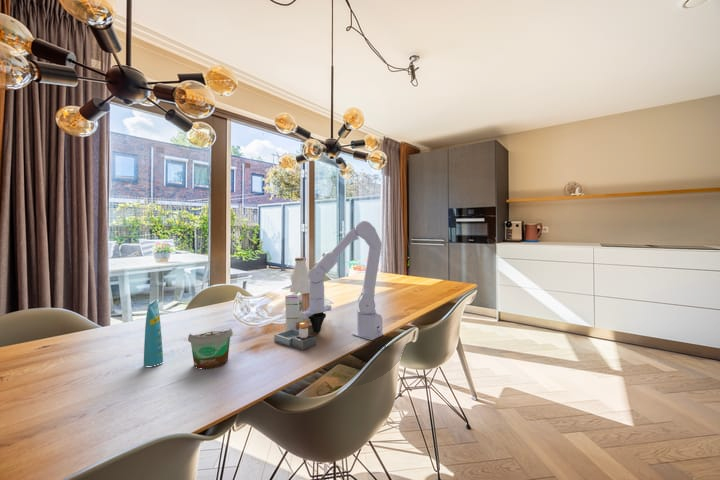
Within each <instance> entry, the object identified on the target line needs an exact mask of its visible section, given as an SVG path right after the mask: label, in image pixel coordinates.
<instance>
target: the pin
mask: <svg viewBox="0 0 720 480" xmlns="http://www.w3.org/2000/svg"><path fill="white" fill-rule="evenodd" d="M307 338H308V322H300V323H299V339H301V340H305V339H307Z"/></svg>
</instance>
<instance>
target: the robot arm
mask: <svg viewBox="0 0 720 480" xmlns="http://www.w3.org/2000/svg"><path fill="white" fill-rule="evenodd" d="M359 237H360V238H361V239H362V240H364V242H365V243H366V244H367V246H368V248H369V249H368V254H367V258H366V259H367V260H366V266H365V271H364V278H363V285H362V289H361V294H360V295H358V299H357V302H358V309H357V311H356V313H357V314H356V315H357V316H356V317H357V319H356V321H357V324H356V328H357V330H356V331H355V332H353V333H352V336H356V337H359V338H363V339H367V340H370V341H373V340H376V339H377V338H380V337H382V336H383V335H384V332H383V317H382V315H381V314H378V313H377V311H376V303H375V290H376V289H375V288H376V283H377V276H378V275H377V274H378V270H379V263H380V259H381V258H380V256H381V253H382V243H383V242H382V241H381V239H380V237H379V234H378V232H377V230H376V228H375V226H373V225H372V224H371V223H370V222H369V221H366V220H361V221H360V222H359V223H358V224H356V226H354V227H353V228H351V230H349V231H348V232H347V233H346V234H345V235H344V237H343V238H341V240H340V241H339V243H338V244H336V246H335V247H334V249H332V250H329V251H328V250H327V251H326V252H323V253H322V254H321V256H322V257H320V259H319V260H318V261H317V262H314V264H313V266H314V267H312V268H310V270H308V271H309V274H308V277H309V279H310V286H309V308H308V310H306V311H304V312H301V318H306V317H308V318H309V319H308V320H310V321H311V324H312V326H313V330H314V333H315V334H320V333H321V329H322V326H323V323H324V321H325V319H326V316H327V314H326V313H325V312H329V311H332V305H330V304H327V305H325V284H324V282H325V280H324V278H325V277H326V274H329V272H330V271H331V270H332V269H333V268H334V267H335V265H336V264H337V263H338V262H339V256H340V255H341V254H342V253H343V251H345V250H346V248H347V247H348V246H349V245H350V244H351V243H352V242H354V241H357V240H359Z"/></svg>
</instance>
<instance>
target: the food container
mask: <svg viewBox="0 0 720 480" xmlns="http://www.w3.org/2000/svg"><path fill="white" fill-rule="evenodd" d="M233 334H234V332H233V329H232V327H230V328H229V329H228V330H223V331H208V332H204V333H200V334H195V335H194V334H192V333H189V335H188V338H187V342H189V343H190V345H191V352H192V359H193V366H195V367H197V368H196V369H198V368H202V369H201V370H211V369H210V368H212V369H216V368H219V367H221V366H223V365H225V364H226V363H228V361H229V352H230V341H231V337H232V336H233ZM195 367H194V368H195ZM215 367H216V368H215Z"/></svg>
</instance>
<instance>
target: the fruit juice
mask: <svg viewBox="0 0 720 480" xmlns="http://www.w3.org/2000/svg"><path fill="white" fill-rule="evenodd" d="M306 260H307V259H306V257H295V258H294V262H295V265H294V267H293V270H292V272H291V274H290V281H291V284H290V285H291V286H290V289H289V290H290V291H289V293H293V292H299V293H302V312H304V311H306V310H308V308H309V286H310V279H309V277H308V274H309V271H310V270H308V267H307V264H306ZM306 319H308V320H310V319H309V318H308V317H306V318H302V321H303V320H306Z"/></svg>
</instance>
